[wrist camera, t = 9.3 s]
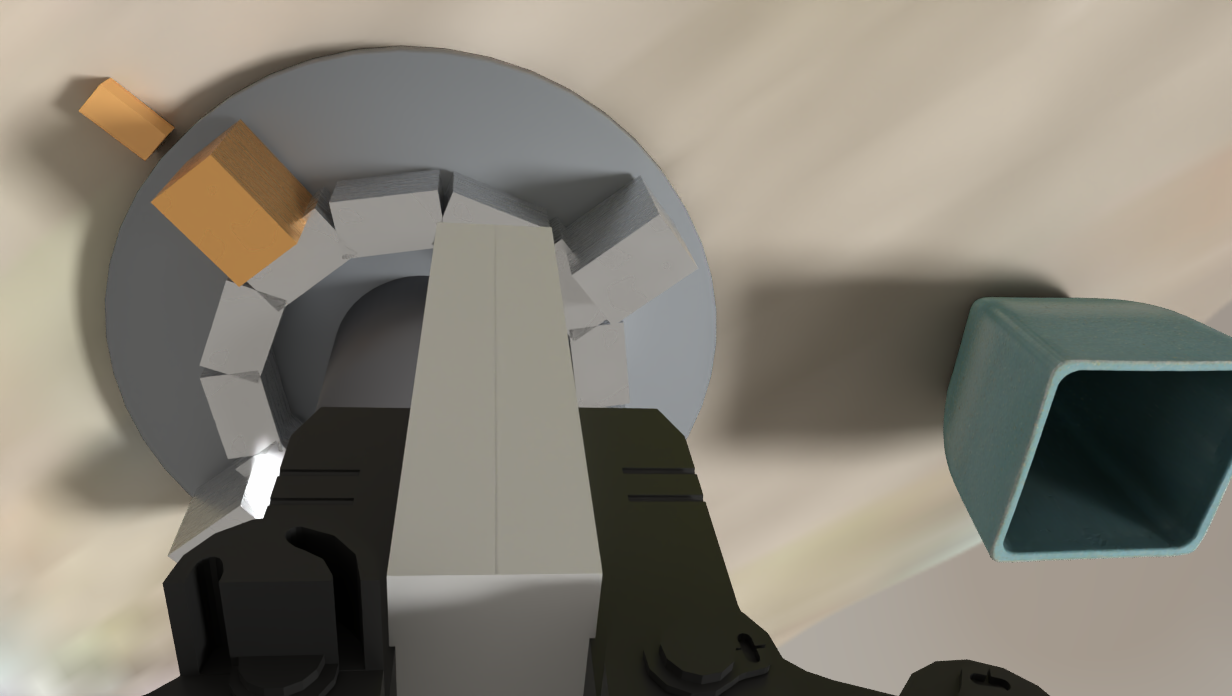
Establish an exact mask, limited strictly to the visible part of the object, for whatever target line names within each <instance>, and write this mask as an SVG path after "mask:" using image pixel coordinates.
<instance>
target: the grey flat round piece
mask: <svg viewBox="0 0 1232 696" xmlns="http://www.w3.org/2000/svg"><path fill="white" fill-rule="evenodd" d="M151 203H152V204H153V205H154V206H155V207H156V208H157V209H158V210H159V211H160V212H161V213H162V214H163V215H164V216H165V217H166V218H167V219H168V220H169V221H171V222H172V223H173V224H174V225H175V226H176V227H177V228H178V229H179V230H180V231H181V232H182V233H183V234H184V235H185V236H186V237H187V238H188V239H189V240H190V241H191V242H193V243H194V244H195V245H196V246H197V247H198V248H199V249H200V250H201V251H202V252H203V253H204V254H205V255H206V256H207V257H208V258H209V259H210V260H211V261H212V262H213V263H214V264H216V265H217V266H218V267H219V268H220V269H221V270H222V271H223V272H224V273H225V274H226V275H227V276H228V278H227V280H226V283H225V286H224V289H223V292H222V295H221V298H220V302H219V305H218V308H217V311H216V314H215V318H214V321H213V324H212V327H211V330H210V333H209V337H208V340H207V343H206V346H205V349H204V353H203V356H202V359H201V362H200V365H199V366H202V367H205V369H204V371H203V373H202V374H201V376H200V380H201V383H202V386H203V389H204V392H205V395H206V398H207V400H208V403H209V406H210V409H211V412H212V415H213V418H214V421H215V423H216V426H217V429H218V432H219V435H220V438H221V441H222V443H223V446H224V449H225V452H226V455H227V458H228V459H232V458H239V459H237V460H236V461H235V462H233V463H232V464H230V465H229V466H228V467H226V468H225V469H223V470H222V471H220V472H219V473H218V474H216V475H215V476H213V477H212V478H211V479H209V480H208V481H206V482H205V483H204V484H202V485H201V486H199V487H198V488H196V491H195V493H194V495H193V498H192V500H191V502H190V505H189V507H188V509H187V512H186V514H185V516H184V519H183V521H182V523H181V526H180V528H179V530H178V533H177V535H176V537H175V540H174V542H173V545H172V547H171V549H170V552H169V554H168V557H170V558H171V559H173V560H174V561H175V562H177V563H178V561H179V560H180V559H181V557H182V556H183V555H184V554H186V553H187V552H189V551H190V550H191V549H193V548H194V547H196V546H197V545H199V544H200V543H202V542H203V541H204V540H206V539H207V538H209V537H210V536H212V535H213V534H215V533H217V532H220V531H223V530H225V529H228V528H231V527H233V526H236V525H239V524H242V523H244V522H247V521H250V520H253V519H260V518H263V517H264V514H265V511H266V508H267V505H270V496H271V493H272V490H273V487H274V484H275V481H276V478H277V476H279V473H280V466H281V463H282V460H283V457H284V454H285V451H286V448H287V445H288V442H289V439H290V436H291V435H292V434H293V433H294V432H295V431H296V430H297V429H298V428H299V427H300V426H301V425H302V424H303V423H302V422H301V421H300V420H299V419H298V418H296V417H295V416H294V415H293V414H292V413H291V410H290V406H289V403H288V399H287V396H286V393H285V389H284V386H283V383H282V379H281V376H280V373H279V369H278V366H277V363H276V359H275V356H274V352H273V349H272V346H273V343H274V340H275V337H276V334H277V331H278V329H279V326H280V323H281V320H282V317H283V314H284V311H285V309H286V306H287V305H288V304H290V303H291V302H292V301H294V300H295V299H296V298H298V297H299V296H300V295H302V294H303V293H305V292H306V291H307V290H309V289H310V288H311V287H313V286H314V285H315V284H317V283H318V282H319V281H321V280H322V279H324V278H325V277H326V276H328V275H329V274H330V273H332V272H333V271H334V270H336V269H337V268H338V267H340V266H341V265H343V264H344V263H345V262H347V261H348V260H349V259H351V258H358V257H366V256H374V255H382V254H390V253H399V252H407V251H415V250H423V249H431V248H434V241H435V234H436V227H437V222H443V223H465V224H488V225H511V226H534V227H552V232H553V239H554V246H555V253H556V260H557V266H558V273H559V280H560V287H561V294H562V301H563V307H564V314H565V321H566V328H567V335H568V341H569V348H570V355H571V362H572V369H573V375H574V382H575V389H576V396H577V403H578V407H589V408H626V407H625V404H629V403H630V396H629V383H628V371H627V358H626V346H625V333H624V322H623V319H624V318H626V317H627V316H629V315H630V314H632V313H633V312H635V311H636V310H638V309H639V308H640V307H642V306H643V305H645V304H646V303H648V302H649V301H651V300H652V299H654V298H655V297H657V296H658V295H660V294H661V293H663V292H664V291H666V290H667V289H669V288H670V287H672V286H673V285H675V284H676V283H677V282H679V281H680V280H682V279H683V278H685V277H686V276H688V275H689V274H691V273H692V272H694V271H695V270H697V269H698V267H697V265H696V263H695V261H694V259H693V258H692V256H691V254H690V252H689V250H688V248H687V246H686V244H685V242H684V241H683V239H682V237H681V235H680V233H679V231H678V229H677V227H676V225H675V224H674V223H673V221H672V220H671V218H670V217H669V215H668V214H667V213H666V211H665V210H664V208H663V207H662V206H661V204H660V203H659V201H658V200H657V198H656V197H655V196H654V194H653V193H652V191H651V190H650V189H649V187H648V186H647V184H646V183H645V182H644V180H643V179H642V177H641V176H640V175H639V176H638V177H637V178H635V179H634V180H632V181H631V182H630V183H628V184H627V185H625V186H624V187H623V188H621V189H620V190H618V191H617V192H615V193H614V194H613V195H611V196H610V197H608V198H607V199H606V200H604V201H603V202H601V203H600V204H598V205H597V206H596V207H594V208H593V209H591V210H590V211H589V212H587V213H586V214H584V215H583V216H581V217H580V218H579V219H577V220H576V221H574V222H573V223H572V224H570V225H569V226H567V227H565V226H564V225H563V223H562V222H561V221H560V219H559V218H558V217H555V218H554V219H552V220H551V221H550V222H549V220H548V215H547V210H546V208H544V207H542V206H539V205H537V204H534V203H532V202H529V201H527V200H524V199H522V198H520V197H517V196H515V195H512V194H510V193H507V192H505V191H502V190H500V189H497V188H495V187H492V186H490V185H487V184H485V183H482V182H480V181H477V180H475V179H472V178H470V177H467V176H465V175H462V174H460V173H457V172H455V171H454V173H453V175H452V178H451V180H450V183H449V185H448V188H447V190H446V192H445V195H444V192H443V186H442V180H441V175H440V169H437V170H429V171H420V172H411V173H403V174H394V175H385V176H377V177H368V178H359V179H351V180H342V181H337V184H336V186H335V189H334V191H333V194H331V193H330V192H329V191H328V190H327V189H326V188H325V187H323V188H321V189H320V190H319V191H317V192H316V193H315V194H313V195H311V194H310V193H309V192H308V191H307V189H306V188H305V187H304V186H303V185H302V184H301V183H300V182H299V181H298V180H297V179H296V178H295V177H294V176H293V175H292V173H291V172H290V171H289V170H288V169H287V168H286V167H285V166H284V165H283V164H282V163H281V162H280V161H279V160H278V158H277V157H276V156H275V155H274V154H273V153H272V152H271V151H270V150H269V149H268V148H267V147H266V146H265V145H264V143H263V142H262V141H261V140H260V139H259V138H258V137H257V136H256V135H255V134H254V133H253V132H252V131H251V130H250V128H249V127H248V126H247V125H246V124H245V123H244V122H243V121H242V120H241V119H240V120H239V121H237V122H236V123H235V124H234V125H232V126H231V127H230V128H228V129H227V130H226V131H225V132H223V133H222V134H221V135H220V136H218V137H217V138H216V139H215V140H213V141H212V142H211V143H210V144H208V145H207V146H206V147H205V148H203V149H202V150H201V151H199V152H198V153H197V154H196V155H194V156H193V157H192V158H191V159H189V160H188V161H187V162H186V163H185V164H184V165H183V166H182V167H181V169H180V170H179V171H178V172H177V173H176V174H175V175H174V176H173V178H172V179H171V180H170V181H169V182H168V183H167V184H166V185H165V187H164V188H163V189H162V190H161V191H160V192H159V193H158V194H157V195H156V197H155V198H154V199H153V200H152V201H151Z"/></svg>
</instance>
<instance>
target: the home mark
mask: <svg viewBox="0 0 1232 696" xmlns="http://www.w3.org/2000/svg"><path fill="white" fill-rule="evenodd" d="M79 112H81V113H82V114H83V115H85V116H86V117H87V118H89V119H90V120H91V121H92V122H94V123H95V124H96V125H98V126H99V127H100V128H102V129H103V130H104V131H106V132H107V133H108V134H110V135H111V136H112V137H114V138H115V139H116V140H118V141H119V142H120V143H122V144H123V145H124V146H126V147H127V148H128V149H130V150H131V151H132V152H134V153H135V154H136V155H138V156H139V157H140V158H142V159H143V160H144V161H146V160H147V159H148V158H149V157H150V156H151V155H152V154H153V153H154V152H155V150H156V149H157V148H158V147H159V146H160V145H161V143H162V142H163V141H164V140H165V139H166V138H167V136H168V135H169V134H170V133H171V132H172V130H173V129H174V127H173V126H172V125H171V124H169V123H168V122H167V121H166V120H164V119H163V118H162V117H160V116H159V115H158V114H157V113H155V112H154V111H153V110H151V109H150V108H149V107H148V106H146V105H145V104H144V103H142V102H141V101H140V100H139V99H137V98H136V97H135V96H134V95H132V94H131V93H130V92H128V91H127V90H126V89H125V88H123V87H122V86H121V85H119V84H118V83H117V82H116V81H114V80H113V79H112V78H109V79H107V80H106V81H104V82H103V83H101V84H100V85H99V86H98V87H97V89H96V90H95V91H94V92H93V94H92V95H91V96H90V97H89V99H88V100H87V101H86V102H85V103H84V105H83V106H82V107H81V108H80V110H79Z"/></svg>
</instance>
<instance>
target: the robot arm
mask: <svg viewBox="0 0 1232 696" xmlns="http://www.w3.org/2000/svg"><path fill="white" fill-rule="evenodd" d="M694 470H695V467H694V464H693V461H692V458H691V455H690V452H689V448H688V445H687V442H686V439H685V436H684V435H683V434H682V433H681V432H680V431H679V430H678V429H677V428H676V427H675V426H674V425H673V424H672V423H671V422H670V421H669V420H668V419H667V418H666V417H665V416H664V415H663V414H662V413H661V412H660V411H659V410H658V409H654V408H589V407H578V403H577V396H576V389H575V382H574V375H573V369H572V362H571V355H570V348H569V341H568V335H567V328H566V321H565V314H564V307H563V301H562V294H561V287H560V280H559V273H558V266H557V260H556V253H555V246H554V239H553V232H552V227H534V226H511V225H488V224H465V223H443V222H437V227H436V234H435V241H434V248H433V255H432V262H431V269H430V276H429V283H428V290H427V297H426V304H425V311H424V318H423V325H422V332H421V339H420V346H419V353H418V360H417V367H416V374H415V381H414V388H413V395H412V402H411V408H372V407H321V408H319V409H318V410H317V411H316V412H315V413H314V414H313V415H312V416H311V417H310V418H309V419H308V420H307V421H306V422H304V423H303V424H302V425H301V426H300V427H299V428H298V429H297V430H296V431H295V432H294V433H293V434H292V435H291V436H290V439H289V442H288V445H287V448H286V451H285V454H284V457H283V460H282V463H281V466H280V473H279V476H277V478H276V481H275V484H274V487H273V490H272V493H271V496H270V505H267V508H266V511H265V514H264V517H263V518H260V519H253V520H250V521H247V522H244V523H242V524H239V525H236V526H233V527H231V528H228V529H225V530H223V531H220V532H217V533H215V534H213V535H212V536H210V537H209V538H207V539H206V540H204V541H203V542H202V543H200V544H199V545H197V546H196V547H194V548H193V549H191V550H190V551H189V552H187V553H186V554H184V555H183V556H182V557H181V559H180V560H179V561H178V563H177V564H176V566H175V567H174V568H173V570H172V571H171V572H170V574H169V575H168V577H167V578H166V579H165V581H164V582H163V587H164V593H165V598H166V603H167V608H168V613H169V619H170V624H171V629H172V634H173V639H174V644H175V650H176V655H177V660H178V665H179V670H180V676H179V677H178V678H176V679H174V680H172V681H171V682H169V683H167V684H165V685H163V686H161V687H160V688H158V689H156V690H154V691H152V692H150V693H149V694H146V695H143V696H895V695H891V694H887V693H883V692H879V691H875V690H871V689H867V688H863V687H859V686H855V685H850V684H846V683H842V682H838V681H834V680H831V679H828V678H825V677H822V676H819V675H816V674H813V673H810V672H807V671H805V670H803V669H801V668H799V667H798V666H796V665H794V664H792V663H790V662H788V661H787V660H785V659H783V658H782V656H781V655H780V653H779V651H778V650H777V648H776V646H775V644H774V643H773V641H772V639H771V638H770V636H769V634H768V633H767V632H766V631H765V630H763V629H762V628H761V627H760V626H758V625H757V624H756V623H755V622H754V621H752V620H751V619H750V618H749V617H748V616H746V615H745V614H744V613H743V612H741V611H740V609H739V606H738V604H737V601H736V598H735V594H734V591H733V588H732V585H731V582H730V579H729V575H728V572H727V569H726V566H725V563H724V559H723V556H722V553H721V550H720V547H719V544H718V540H717V537H716V534H715V531H714V528H713V525H712V521H711V518H710V515H709V512H708V509H707V506H706V502H703V493H702V490H701V487H700V483H699V480H698V477H697V474H695V472H694ZM899 696H1049V695H1048V694H1047V693H1046V692H1045V691H1043V690H1042V689H1041V688H1040V687H1039V686H1037V685H1035V684H1033V683H1031V682H1029V681H1027V680H1025V679H1023V678H1021V677H1020V676H1018V675H1015V674H1014V673H1012V672H1010V671H1008V670H1006V669H1004V668H1000V667H997V666H992V665H988V664H984V663H979V662H975V661H971V660H952V661H936V662H934V663H932V664H930V665H928V666H926V667H924V668H922V669H920V670H918V671H916V672H914V673H913V674H911V676H910V678H909V680H908V681H907V683H906V685H905V687H904V688H903V690H902V692H901V694H900V695H899Z"/></svg>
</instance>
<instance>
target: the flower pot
mask: <svg viewBox="0 0 1232 696" xmlns="http://www.w3.org/2000/svg"><path fill="white" fill-rule="evenodd" d="M943 435H944V448H945V454H946V459H947V464H948V467H949V470H950V474H951V476H952V478H953V481H954V483H955V486H956V488H957V490H958V492H959V494H960V496H961V498H962V501H963V503H964V504H965V506H966V508H967V511H968V513H969V515H970V517H971V519H972V520H973V523H974V525H975V527H976V529H977V531H978V533H979V535H980V537H981V539H982V541H983V543H984V544H985V546H986V548H987V550H988V552H989V555H990V557H991V558H992V559H993V560H994V561H996V562H1012V563H1013V562H1029V561H1045V560H1074V559H1096V558H1103V559H1106V558H1119V557H1120V558H1135V557H1153V556H1155V557H1166V556H1178V555H1184V554H1189V553H1191V552H1193V551H1195V549H1196V548H1197V547H1198V545H1199V544H1200V542H1201V541H1202V539H1203V538H1204V536H1205V534H1206V533H1207V530H1208V529H1209V526H1210V524H1211V522H1212V519H1213V518H1214V516H1215V513H1216V511H1217V508H1218V506H1219V504H1220V502H1221V499H1222V497H1223V495H1224V493H1225V492H1226V488H1227V487H1228V484H1229V482H1230V480H1231V478H1232V337H1230V336H1228V335H1226V334H1224V333H1222V332H1219V331H1217V330H1215V329H1213V328H1211V327H1209V326H1207V325H1205V324H1202V323H1200V322H1198V321H1196V320H1194V319H1191V318H1189V317H1187V316H1185V315H1182V314H1179V313H1177V312H1175V311H1172V310H1169V309H1165V308H1162V307H1158V306H1154V305H1150V304H1145V303H1139V302H1133V301H1126V300H1116V299H1100V298H1018V297H984V298H980V299H978V300H976V301H975V302H974V303H973V304H972V306H971V308H970V312H969V316H968V319H967V323H966V326H965V330H964V334H963V338H962V341H961V345H960V349H959V352H958V356H957V359H956V363H955V366H954V370H953V373H952V376H951V380H950V383H949V387H948V390H947V397H946V404H945V411H944V426H943Z"/></svg>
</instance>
